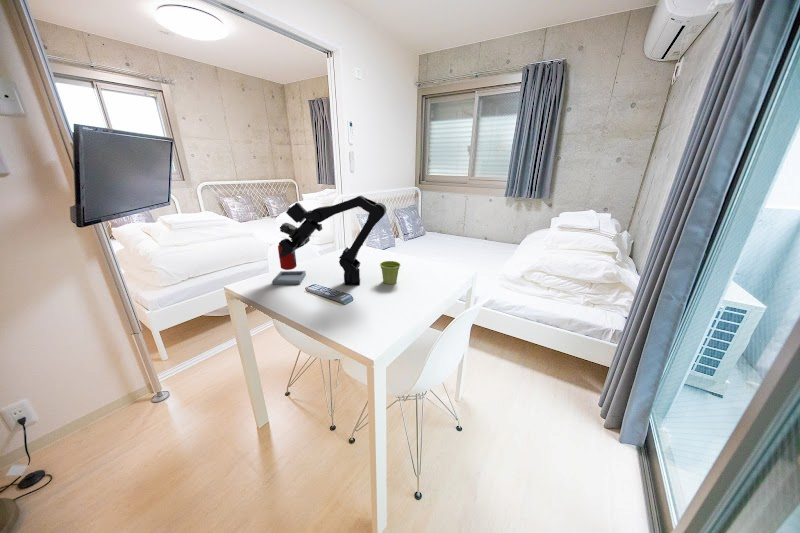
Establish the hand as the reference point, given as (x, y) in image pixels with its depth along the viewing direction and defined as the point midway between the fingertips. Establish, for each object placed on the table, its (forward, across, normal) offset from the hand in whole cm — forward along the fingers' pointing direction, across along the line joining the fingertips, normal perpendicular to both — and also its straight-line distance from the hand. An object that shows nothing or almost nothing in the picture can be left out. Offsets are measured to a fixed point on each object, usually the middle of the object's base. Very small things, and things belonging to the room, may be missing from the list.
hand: (284, 254), depth 122 cm
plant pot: (-24, -3, +43) cm, 49 cm away
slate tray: (+8, 0, +9) cm, 12 cm away
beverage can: (+4, 0, +6) cm, 7 cm away
